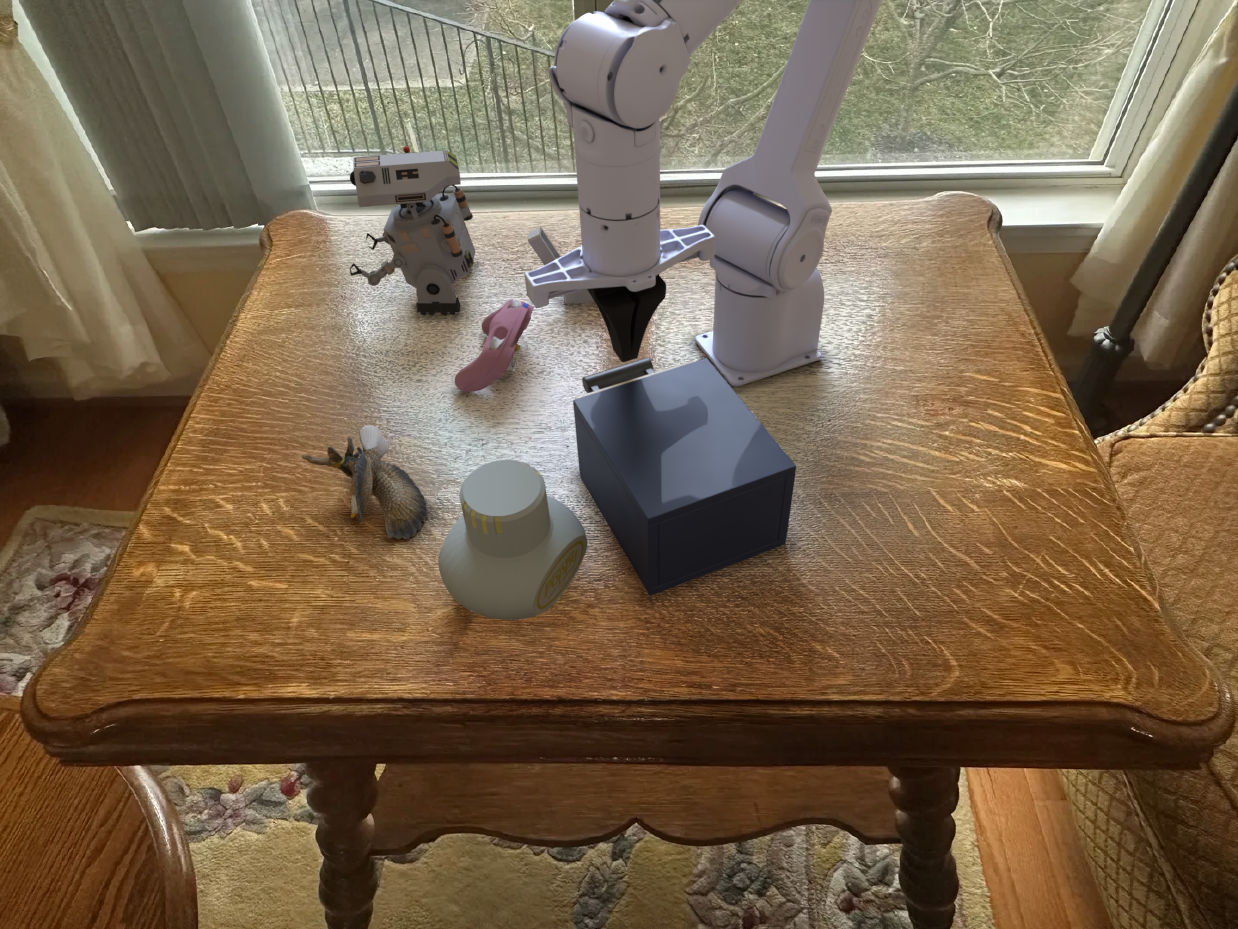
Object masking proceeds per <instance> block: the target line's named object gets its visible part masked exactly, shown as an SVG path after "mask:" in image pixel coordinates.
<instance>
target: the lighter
mask: <svg viewBox="0 0 1238 929" xmlns="http://www.w3.org/2000/svg"><path fill="white" fill-rule="evenodd" d="M527 242H528V244H529V246H530V247H531V248H532V250H533V251H534V252H535V255H537V257H538V258H539V260H540V261H541V263H542V264H543V266H545V265H547V264H549V263H550V262H552V261H554V260H556V259H558V258H560V257H562V255H561V254H560V253H559V251H558V250H557V248H556V246H555V245H554V244H553V242H552V241H551V239H550V238H549V237H548V235H547V233H546V232H545V231H544V229H543V227H542V226H538V227H536V228H534V229H532V230H530V231H528V234H527ZM563 302H564V304H596V303H595V302H594V300H593V298H592V296H591V295H590V293H589V292H588V290H587V289H584V290H580V291H577V292H573V293H570V294H566V295H563Z"/></svg>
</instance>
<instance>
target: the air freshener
mask: <svg viewBox="0 0 1238 929" xmlns="http://www.w3.org/2000/svg"><path fill="white" fill-rule="evenodd" d="M458 496H459V501H460V507H461V511H462V514H461V515H460V517H459V518H458V519H457V520H456V522H455V523H454V524H453V526H452V527H451V529H450V530H449V532H448V534H447V535H446V537H445V538H444V541H443V543H442V544H441V548H440V550H439V554H438V560H437V563H438V570H439V575H440V578H441V581H442V583H443V585H444V587H445V588H446V590H447V592H448V593H449V594H450V596H451V597H452V598H453V599H454V600H455V601H456V602H457V603H458V604H460V606H462V607H464V608H465V609H466V610H468V611H470V612H471V613H474V614H476V615H478V616H481V617H484V618H488V619H491V620H497V621H498V620H500V621H519V620H525V619H529V618H533V617H537V616H539V615H542V614H544V613H546V612H547V611H549V609H551V608H552V607H553V606H554V605H555V604H556V603H557V602H558V601H559V599H560V598H561V597H563V594H564V593H565V592H566V590H567V589H568V588H569V587H570V584H571V583H572V581H573V580H574V578H575V577H576V575H577V573H578V571H579V570H580V567H581V565H582V563H583V561H584V559H585V556H586V553H587V549H588V537H587V533H586V530H585V528H584V525H583V524H582V522H581V520H580V519H579V517H577V515H576V514H575V512H574V511H572V510H571V509H570V507H568V506H567V505H566V504H564V503H563V502H561V501H560V500H558V499H557V498H555V497H553V496H550V495H548V493H547V488H546V482H545V479H544V477H543V475H542V474H541V473H540V471H539V470H538V469H536V468H535V467H533V466H531V465H530V464H529V463H526V462H524V461H518V460H515V459H499V460H494V461H490V462H486V463H485V464H482V465H480V466H479V467H477V468H475V469H474V470H472V472H470V473H469V474H468V475H467V476H466V478H464V480H463V481H462V484H461V486H460V489H459V495H458Z"/></svg>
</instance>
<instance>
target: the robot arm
mask: <svg viewBox="0 0 1238 929" xmlns="http://www.w3.org/2000/svg"><path fill="white" fill-rule="evenodd" d="M882 2H883V0H809V1H808V4H807V6H806V9H805V11H804V15H803V17H802V20H801V23H800V26H799V28H798V31H797V34H796V37H795V40H794V42H793V45H792V48H791V51H790V53H789V56H788V59H787V62H786V64H785V68H784V70H783V73H782V76H781V78H780V81H779V84H778V86H777V89H776V92H775V95H774V98H773V100H772V103H771V105H770V109H769V112H768V115H767V117H766V120H765V123H764V126H763V128H762V130H761V134H760V137H759V139H758V142H757V145H756V147H755V150H754V153H753V154H752V155H751V156H749V157H747V158H744V159H742V160H740V161H738V162H735V163H733V164H731V165H728V166H727V167H726V168H724V169H723V170H722V173H721V176H720V178H719V181H718V184H717V186H716V188H715V189H714V191H713V192H712V194H711V196H710V197H709V198H708V199H707V201H706V202H705V203H704V206H703V207H702V209H701V211H700V214H699V217H698V221H697V225H695V226H694V225H693V226H688V227H680V228H667V229H661V117H663V116H664V115H666V114H667V113H668V112H669V110H670V109H671V106H672V105H673V103H674V101H675V99H676V97H677V93H678V92H679V87H680V83H681V81H682V78H683V76H684V75H685V74H686V73H687V71H688V70H689V65H690V64H691V60H692V59H691V56H692V55H693V54H694V53H695V51H696V50H697V49H698V48H699V47H700V46H701V45H703V43H704V42H705V41H706V40H707V39H708V38H709V37H710V36H711V34H713V32H714V31H715V30H716V29H717V28H718V27H719V26H720V25H721V24H722V23H723V22H724V21H725V20H726V19H727V17H728V16H730V14H731V13H732V12H733V10H735V9H736V7H737V6H738V5H740V3H741V0H613V1H612V2H611V3H610V4H609V5H608V6H607V7H606V8H605V10H604V12H603V11H592V12H593V13H591V12H587V13H584V14H582V15H581V16H579V17H578V18H577V19H575V20H574V21H572V22H571V23H570V24H569V25H568V26H567V27H566V28H565V29H564V31H563V32H562V34H561V35H560V37H559V39H558V42H557V45H556V48H555V52H554V60H553V65H552V66H550V67H549V68H548V77H549V81H550V84H551V86H552V89H553V91H554V92H555V94H556V96H557V97H558V98H559V99H561V100H562V102H563V103H564V105H565V109H566V117H567V118H566V119H567V125H570V126H571V128H572V129H573V140H574V142H573V143H574V155H575V157H574V158H575V170H576V171H575V172H576V184H577V197H578V209H579V210H578V211H579V212H578V213H579V224H580V238H581V239H580V240H581V245H580V246H578V247H576V248H574V249H572V250H571V251H569V252H566V253H565V254H564V255H561V257H560V258H558V259H556V260H554V261H552V262H550V263H549V264H547V265H542V266H541V267H538V268H535V269H533V270H532V269H531V270H529V271H526V272H524V274H523V275H524V283H525V289H526V290H525V291H526V296H527V297H528V299H529V301H530V302H531V304H532V306H534V309H540V308H543V307H547V306H548V305H550V300H551V299H555V298H559V297H562V296H564V295H566V294H570V293H573V292H577V291H580V290H584V289H587V290H588V292H589V293H590V295H591V296H592V298H593V300H594V302H595V303H594V304H595V305H596V307H597V310H598V311H599V314H600V315H601V318H602V320H603V322H604V325H605V326H606V330H607V332H608V337H609V339H610V343H611V348H612V351H613V352H614V353H615V355H616V356H617V358H619V360H620V362H621V363H626V362H630V361H632V360H636V359H638V357H639V353H640V350H641V347H642V343H643V339H644V336H645V333H646V331H647V328H648V326H649V323H650V321H651V319H652V318H653V316H654V314H655V312H656V310H658V307H659V306H660V305H661V303H662V302H663V301H664V300H665V299H666V294H667V283H666V282H665V280H664V279H663V278H662V277H661V276H660V274H662V273H663V272H665V271H667V270H668V269H670V268H672V267H674V266H675V265H677V264H679V263H683V262H687V261H690V260H695V259H698V260H700V261H702V262H706V261H709V267H710V268H712V269H713V270H714V272H715V280H714V299H713V300H714V302H713V303H714V304H713V326H712V327H713V328H712V330H711V331H708V332H705V333H701V334H698V335H695V338H694V341H695V343H696V345H697V346H698V347H699V349H701V351H702V352H703V353H704V354H705V355H706V356H707V359H708V360H709V361H710V362H711V363H712V365H713V366H714V367H715V368H716V369H717V371H718V372H719V373H720V374H721V375H722V377H723V378H724V379H725V380H726V381H727V383H728V384H729V385H730V386H731V387H740V386H744V385H746V384H750V383H753V382H756V381H759V380H762V379H766V378H768V377H771V376H774V375H778V374H781V373H785V372H787V371H791V370H792V369H796V368H799V367H801V366H802V367H803V366H805V365H808V364H811V363H814V362H818V361H820V360H821V359H822V353H821V351H820V350H819V349H818V348H819V341H820V340H819V339H820V333H821V326H822V319H823V312H824V305H825V288H824V282H823V279H822V276H821V274H820V272H819V268H817V267H818V265H819V263H820V261H821V259H822V256H823V252H824V248H825V247H824V246H825V236H826V231H827V228H828V224H829V221H830V217H831V215H832V213H833V209H832V208H833V207H832V206H831V203H830V202H829V199H828V198H827V196H826V195H825V192H824V190H823V189H822V187H821V185H820V183H819V181H818V180H817V177H816V174H815V173H816V171H817V168H818V165H819V163H820V161H821V158H822V155H823V153H824V151H825V148H826V145H827V142H828V140H829V138H830V135H831V132H832V130H833V127H834V124H835V122H836V120H837V117H838V115H839V113H840V109H841V107H842V104H843V101H844V99H845V97H846V94H847V92H848V89H849V86H850V84H851V82H852V78H853V77H854V73H855V71H856V68H857V66H858V63H859V61H860V58H861V56H862V53H863V52H864V48H865V46H866V43H867V40H868V38H869V35H870V33H871V31H872V27H873V25H874V22H875V20H876V17H877V15H878V12H879V10H880V7H881V5H882ZM757 194H758V195H757ZM759 195H760V196H759ZM765 198H767V199H769V200H771V201H773V202H771V201H769V200H767V199H765ZM776 203H777V204H776ZM778 204H780V205H778Z"/></svg>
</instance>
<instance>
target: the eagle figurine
mask: <svg viewBox="0 0 1238 929" xmlns="http://www.w3.org/2000/svg"><path fill="white" fill-rule="evenodd" d="M358 434H359V435H358V436H359V440H360V443H361V447H360V446H357V447H356V452H355V453H354V451H355V446H354V440H353V438H352V437H351V436H349V435H348V436H347V447H346V451H345V452H344V456H341V454H340V453H339V452H338V451H337V450H336V449H335V448H334V447H333V446H331V445H328V447H327V450H326V452H327V456H328V457H317V456H312V455H310V454H302V455H301V458H302V459H303V460H305V461H307V462H308V463H310V464H312V465H317V466H326V467H330V468H333V469H338V470H339V471H342V473H343V474H344V475H346V477H348V478H350V479H351V484H350V485H351V486H350V491H351V493H350V495H351V501H350V508H351V515H350V518H351V519H355V517H356V515H357V516H358V521H359V523H361V524H362V523H363V515H364V512H365V509H366V508H367V505H368V504H369V502H370V501H371V500H370V499H371V497H372V496H373V497H375V498H376V500H377V501H378V503H379V506H380V508H381V510H382V513H383V516H384V526H385V532H386V535H387V537H388V538H389V539H392V538H394V539H396V540H401V539H404V540H409V539H410V538H411V537H415V536H416V535H417V531H421V529H422V525H423V524H422V522H426V517H425V516H426V515H428V507H427V501H426V500H425V495H423V493H422V491H421V490H420V488H419V487H418V485H416V482H415V481H414V480H413V479H412V478H411V476H410V475H409V474H408V473H407V472H406V471H405V470H404V469H402V468H401V467H400V466H397V465H395V464H391V463H390V462H386V461H385V460H382V458H383V457H384V456H385V455H386V454H387V453H388V452H389V444H388V441H387V439H386V438H385V436H384V433H383V432H382V430H380V428H379V427H378V426H377V425H376V426H375V425H372V424H370V425H369V424H368V425H365V426H363V427H361V428H360V430H359V433H358Z"/></svg>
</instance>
